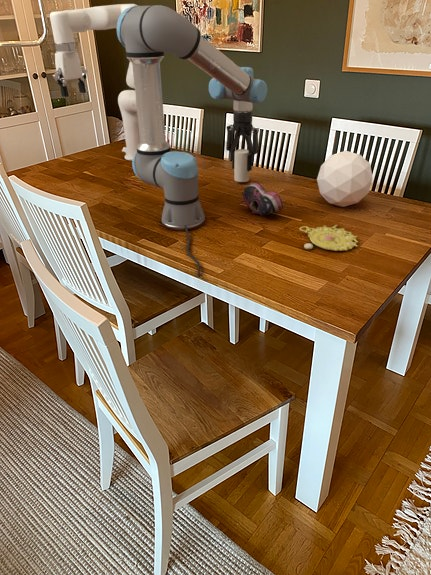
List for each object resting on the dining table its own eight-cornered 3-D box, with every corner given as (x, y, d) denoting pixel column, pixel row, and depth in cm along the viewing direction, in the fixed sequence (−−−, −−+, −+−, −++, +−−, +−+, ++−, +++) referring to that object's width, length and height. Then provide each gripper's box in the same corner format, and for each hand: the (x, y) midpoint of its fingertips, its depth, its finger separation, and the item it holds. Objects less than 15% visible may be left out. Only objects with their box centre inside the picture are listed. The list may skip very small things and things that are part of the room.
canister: (237, 176, 192) (238, 148, 186) (251, 178, 190) (252, 150, 183) (232, 180, 187) (232, 152, 181) (245, 182, 185) (246, 153, 178)
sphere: (348, 225, 166) (362, 196, 147) (303, 198, 170) (311, 167, 152) (373, 189, 171) (391, 157, 152) (328, 164, 175) (340, 130, 156)
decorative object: (343, 255, 128) (285, 234, 139) (342, 262, 130) (284, 241, 140) (372, 230, 142) (317, 213, 152) (371, 237, 143) (316, 219, 153)
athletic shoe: (254, 181, 170) (227, 189, 167) (283, 176, 151) (253, 185, 147) (260, 210, 173) (234, 218, 170) (290, 209, 154) (261, 219, 150)
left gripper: (75, 46, 183) (83, 90, 192) (41, 49, 170) (51, 97, 179) (88, 46, 179) (95, 92, 188) (55, 50, 167) (64, 98, 176)
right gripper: (269, 111, 172) (266, 169, 185) (226, 107, 181) (226, 163, 193) (261, 114, 167) (259, 174, 179) (216, 110, 175) (217, 168, 187)
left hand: (74, 94), depth 184 cm, fingers open, 9 cm apart
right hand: (241, 169), depth 186 cm, fingers closed on canister, 6 cm apart
